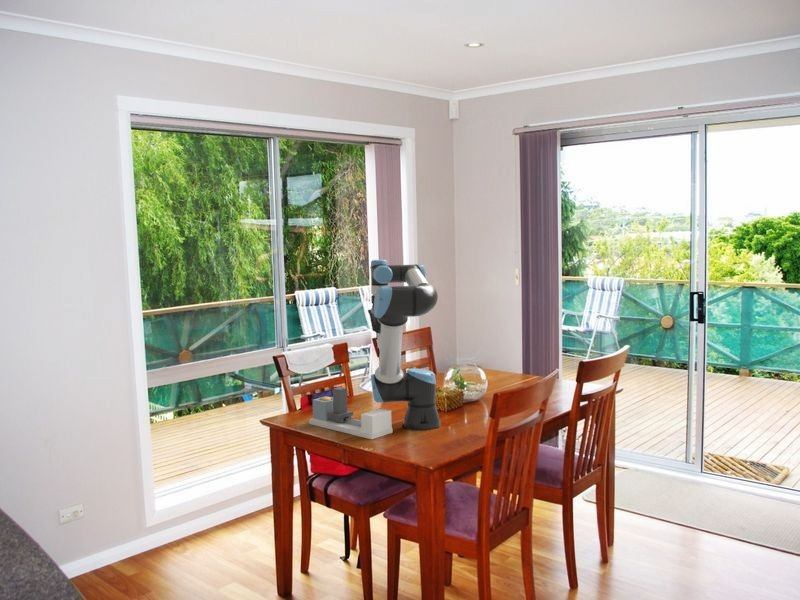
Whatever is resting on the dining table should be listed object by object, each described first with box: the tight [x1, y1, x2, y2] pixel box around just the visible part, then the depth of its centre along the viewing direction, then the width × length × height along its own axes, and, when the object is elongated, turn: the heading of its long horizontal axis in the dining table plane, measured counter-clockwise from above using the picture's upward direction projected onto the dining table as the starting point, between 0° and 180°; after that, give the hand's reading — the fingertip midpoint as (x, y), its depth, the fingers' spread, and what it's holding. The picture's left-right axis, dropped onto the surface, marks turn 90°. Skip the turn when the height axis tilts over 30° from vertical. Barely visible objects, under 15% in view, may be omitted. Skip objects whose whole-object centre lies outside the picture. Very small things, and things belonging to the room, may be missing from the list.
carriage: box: [327, 386, 354, 423], centre depth 299 cm, size 7×8×13 cm
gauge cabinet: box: [312, 395, 333, 421], centre depth 305 cm, size 8×8×8 cm
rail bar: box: [343, 417, 361, 427], centre depth 295 cm, size 22×2×2 cm, turn 49°
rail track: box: [308, 408, 394, 440], centre depth 296 cm, size 36×12×9 cm, turn 49°
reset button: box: [320, 396, 331, 401], centre depth 304 cm, size 4×4×5 cm
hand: (380, 347), depth 322 cm, fingers closed
